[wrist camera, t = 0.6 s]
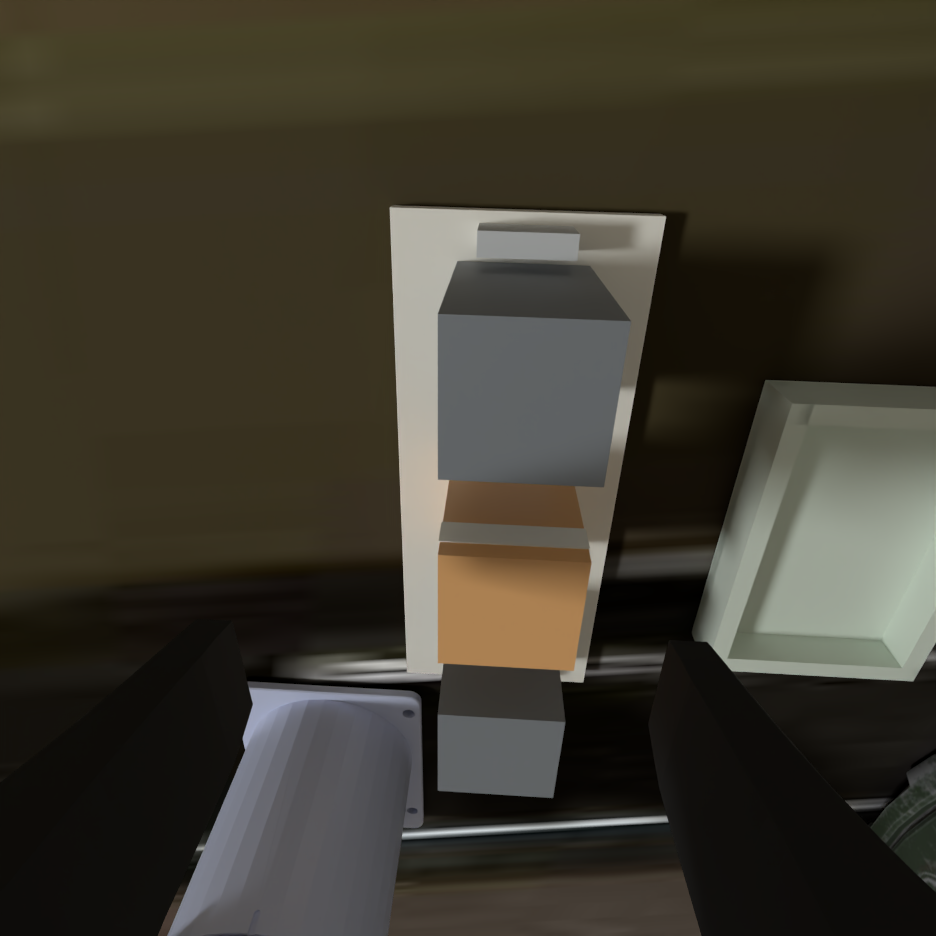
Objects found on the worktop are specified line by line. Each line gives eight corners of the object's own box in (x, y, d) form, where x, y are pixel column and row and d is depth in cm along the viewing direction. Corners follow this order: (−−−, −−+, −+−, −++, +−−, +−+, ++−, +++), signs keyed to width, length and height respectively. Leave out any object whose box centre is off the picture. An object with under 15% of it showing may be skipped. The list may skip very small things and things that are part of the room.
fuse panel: (581, 670, 23) (605, 825, 18) (409, 660, 24) (382, 811, 18) (660, 213, 15) (747, 251, 10) (393, 205, 15) (336, 237, 10)
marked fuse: (556, 543, 20) (574, 671, 15) (452, 537, 20) (436, 664, 15) (568, 450, 18) (593, 562, 13) (453, 444, 18) (436, 553, 13)
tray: (883, 642, 22) (913, 681, 20) (691, 632, 22) (705, 669, 21) (1014, 390, 17) (1067, 415, 15) (765, 379, 17) (792, 403, 16)
